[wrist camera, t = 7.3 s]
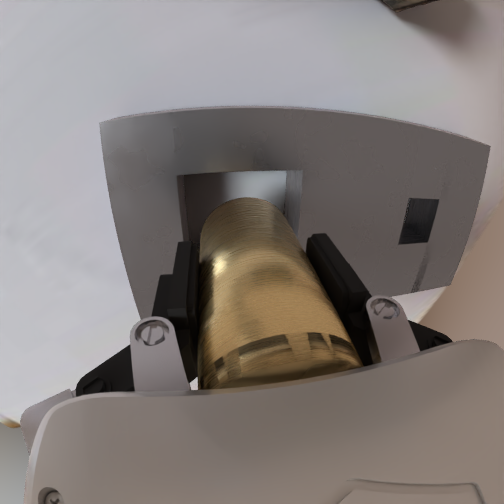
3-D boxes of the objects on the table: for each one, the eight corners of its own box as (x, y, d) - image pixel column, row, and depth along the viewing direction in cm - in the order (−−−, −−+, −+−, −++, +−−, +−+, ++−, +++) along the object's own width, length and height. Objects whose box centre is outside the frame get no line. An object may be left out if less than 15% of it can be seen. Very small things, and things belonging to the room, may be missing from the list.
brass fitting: (196, 200, 13) (183, 372, 5) (292, 195, 13) (393, 342, 5) (204, 279, 15) (209, 447, 7) (286, 273, 15) (344, 426, 8)
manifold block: (118, 117, 13) (99, 122, 11) (463, 136, 16) (490, 146, 13) (148, 292, 19) (141, 321, 17) (431, 265, 22) (450, 284, 20)
